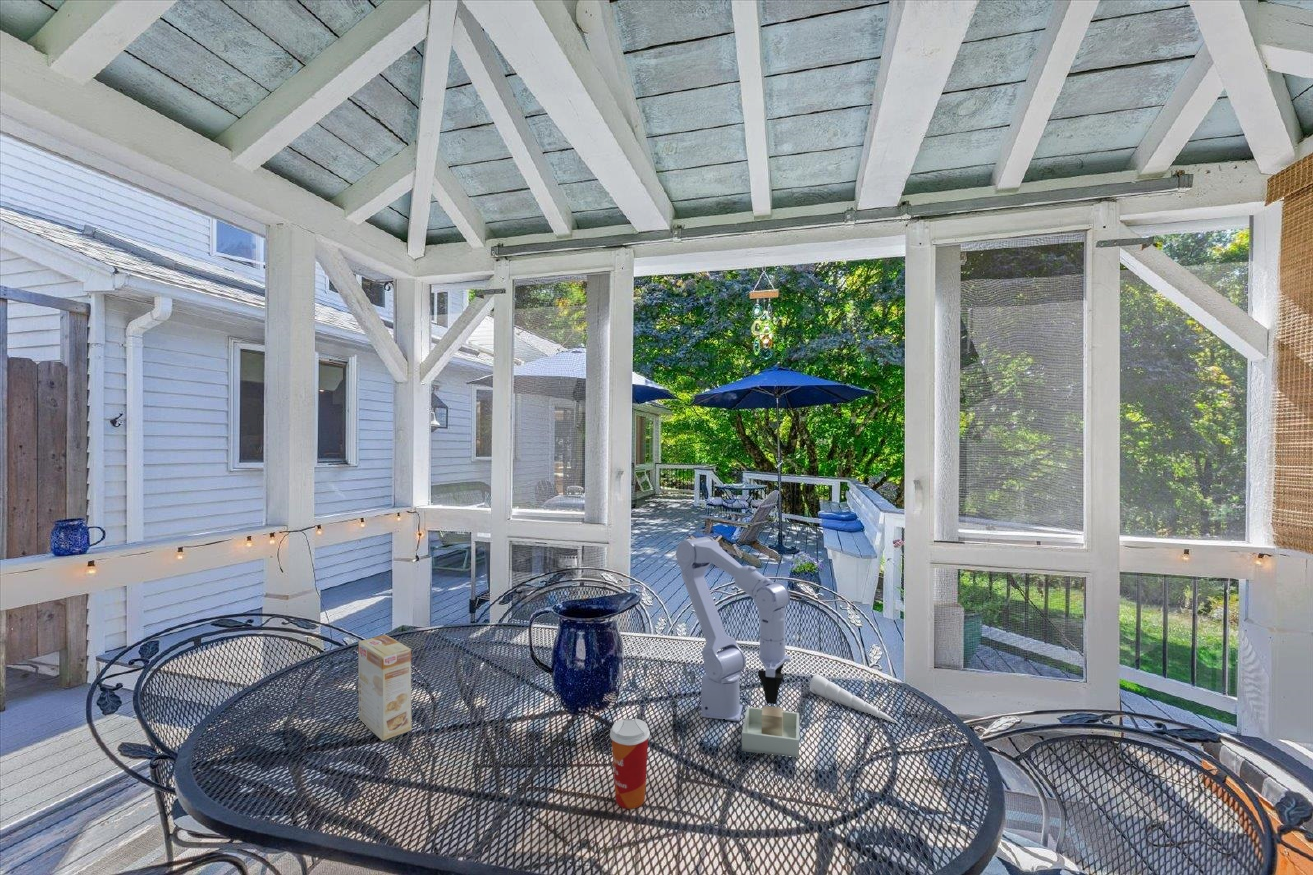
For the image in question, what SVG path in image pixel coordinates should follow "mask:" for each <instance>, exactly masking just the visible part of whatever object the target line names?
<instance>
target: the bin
mask: <svg viewBox="0 0 1313 875" xmlns="http://www.w3.org/2000/svg"><path fill="white" fill-rule="evenodd" d="M762 709H763V707H762V708H760V707H752V706H746V711H745V716H744V720H743V725H742V731H741V752H747V751H749V753H754V752H755V754H761V753H762V755H763V753H765V754H764V755H768V754H774V755H773V756H776V755H787V756H792V757H797V758H796V759H798V757H799V758H800V712H795V711H786V710H783V737H782V736H774V735H766V734H762Z"/></svg>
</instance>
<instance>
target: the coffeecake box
mask: <svg viewBox="0 0 1313 875" xmlns="http://www.w3.org/2000/svg"><path fill="white" fill-rule="evenodd" d="M357 644H358V646H357V647H358V649H357V650H358V651H357V653H358V657H357V658H358V660H357V661H358V720H359V719H360V720H361V721H362V722H363V723H364V724H365V725H366V728H367V729H369V730H370V732H372V733H373V734H374V735H375V736H376V737H377V738H379V739H380V740H381V741H382V742H384V741H387V740H389V739H391V738H395V737H398V736H401V735H402V734H405V733H408V732H410V731H412V730H413V729H412V648H410V647H409V646H406V645H404V644H403V643H402V642H400V641H398V640H396V639H394V638H392V637H390V636H389V635H387V634H383V635H380V636H374V637H372V638H368V639H367V638H366V639H363V640H359V641H358V642H357ZM360 720H359V721H360ZM361 721H360V722H361ZM362 722H361V723H362ZM363 723H362V724H363ZM365 725H364V726H365Z"/></svg>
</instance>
